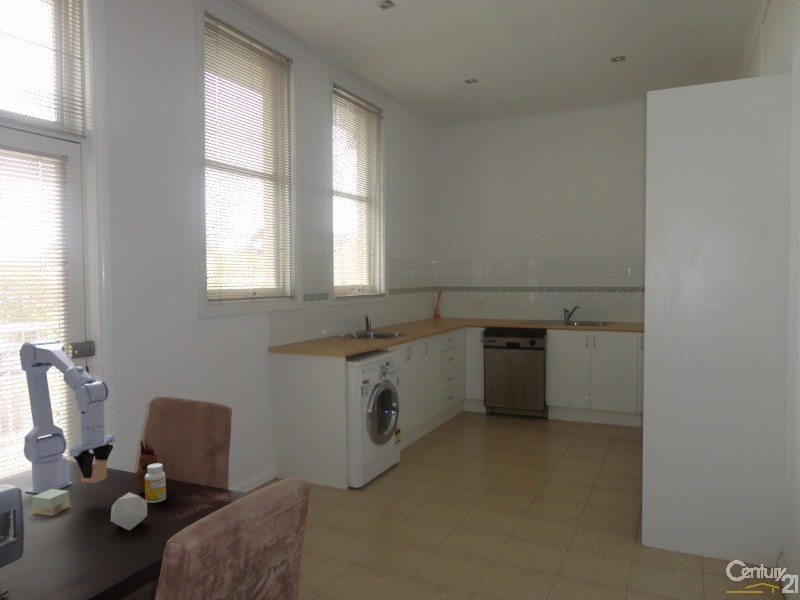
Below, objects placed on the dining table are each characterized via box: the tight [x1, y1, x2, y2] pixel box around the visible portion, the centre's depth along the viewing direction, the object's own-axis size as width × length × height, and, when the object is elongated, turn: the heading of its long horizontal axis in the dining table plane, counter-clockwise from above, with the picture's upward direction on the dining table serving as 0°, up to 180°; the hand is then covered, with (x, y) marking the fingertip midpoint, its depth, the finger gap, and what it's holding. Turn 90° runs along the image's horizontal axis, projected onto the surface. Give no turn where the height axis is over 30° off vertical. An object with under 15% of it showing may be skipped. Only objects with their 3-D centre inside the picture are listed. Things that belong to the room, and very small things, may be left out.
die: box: [110, 491, 148, 532], centre depth 149 cm, size 8×9×10 cm
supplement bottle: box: [144, 462, 167, 504], centre depth 166 cm, size 5×5×10 cm
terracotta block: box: [80, 458, 108, 484], centre depth 164 cm, size 4×4×5 cm
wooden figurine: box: [135, 440, 158, 494], centre depth 172 cm, size 7×6×15 cm
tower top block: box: [31, 489, 70, 508], centre depth 159 cm, size 6×6×2 cm
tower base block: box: [32, 499, 71, 516], centre depth 159 cm, size 6×6×2 cm
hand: (93, 474), depth 164 cm, fingers closed on terracotta block, 4 cm apart
